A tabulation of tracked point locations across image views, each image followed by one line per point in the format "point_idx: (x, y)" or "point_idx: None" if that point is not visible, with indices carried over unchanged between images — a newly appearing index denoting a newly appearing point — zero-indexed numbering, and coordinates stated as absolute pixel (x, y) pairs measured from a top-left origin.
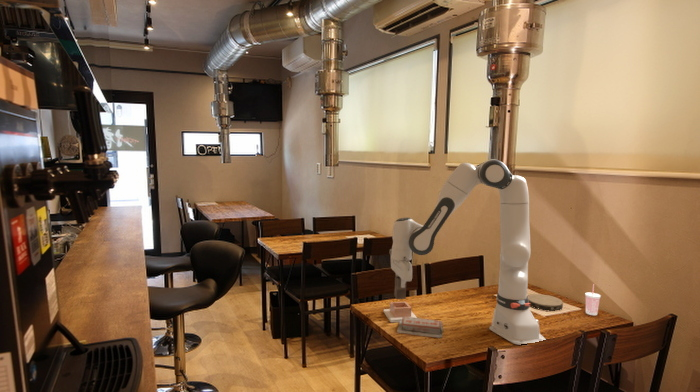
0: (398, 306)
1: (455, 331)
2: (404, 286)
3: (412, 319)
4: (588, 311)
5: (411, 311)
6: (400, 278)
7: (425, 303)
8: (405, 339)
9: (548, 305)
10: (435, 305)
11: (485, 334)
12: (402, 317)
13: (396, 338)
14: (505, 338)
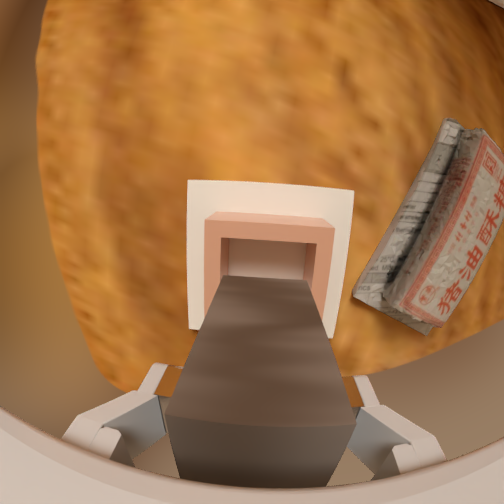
0: (224, 273)
1: (469, 87)
2: (366, 383)
3: (446, 274)
4: None
5: (245, 183)
6: (294, 480)
7: (117, 60)
8: (471, 315)
9: None
10: (156, 20)
11: (481, 20)
12: (411, 318)
13: (454, 342)
14: (501, 6)
